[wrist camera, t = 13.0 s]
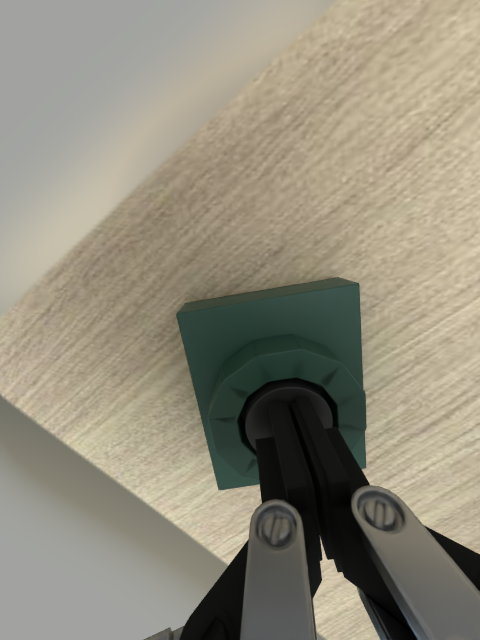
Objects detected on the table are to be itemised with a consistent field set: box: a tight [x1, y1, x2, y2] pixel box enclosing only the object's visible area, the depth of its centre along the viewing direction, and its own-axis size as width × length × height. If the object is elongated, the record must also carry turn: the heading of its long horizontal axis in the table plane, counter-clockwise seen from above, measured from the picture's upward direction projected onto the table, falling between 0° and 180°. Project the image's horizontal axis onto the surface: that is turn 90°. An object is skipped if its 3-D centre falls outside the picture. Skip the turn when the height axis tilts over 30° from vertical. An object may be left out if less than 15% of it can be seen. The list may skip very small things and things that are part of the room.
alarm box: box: [176, 278, 366, 490], centre depth 13 cm, size 10×8×4 cm
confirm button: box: [244, 377, 333, 450], centre depth 11 cm, size 4×4×2 cm
